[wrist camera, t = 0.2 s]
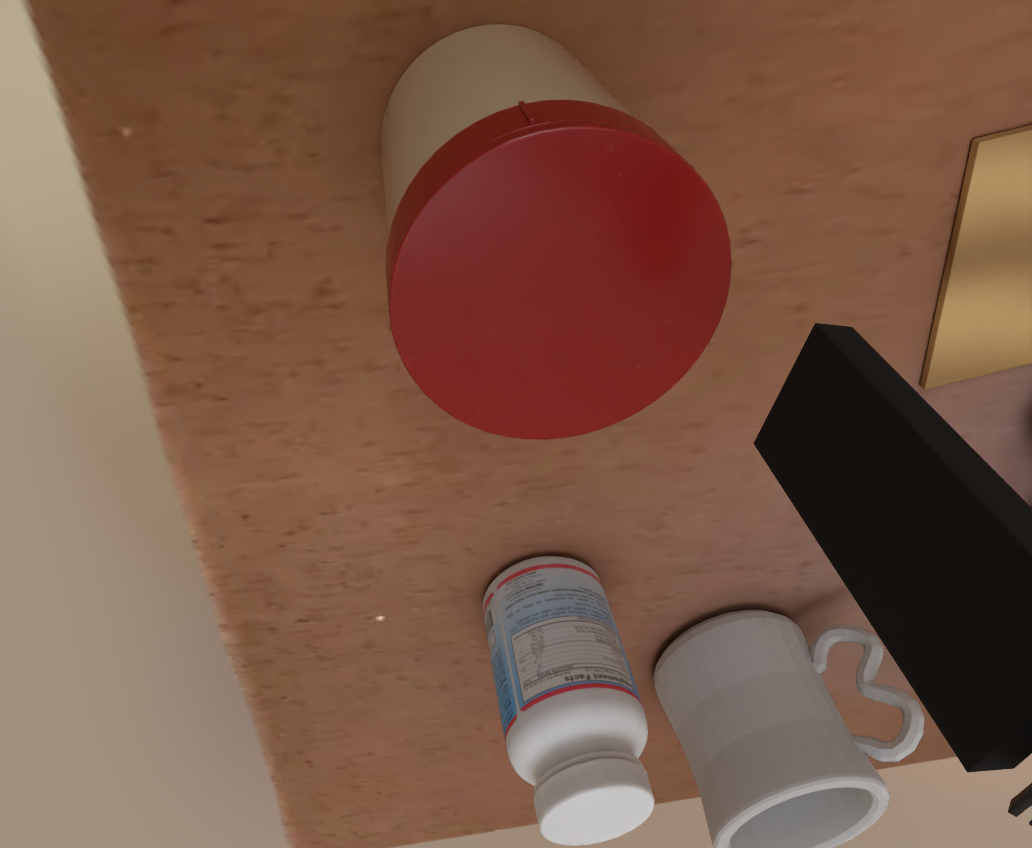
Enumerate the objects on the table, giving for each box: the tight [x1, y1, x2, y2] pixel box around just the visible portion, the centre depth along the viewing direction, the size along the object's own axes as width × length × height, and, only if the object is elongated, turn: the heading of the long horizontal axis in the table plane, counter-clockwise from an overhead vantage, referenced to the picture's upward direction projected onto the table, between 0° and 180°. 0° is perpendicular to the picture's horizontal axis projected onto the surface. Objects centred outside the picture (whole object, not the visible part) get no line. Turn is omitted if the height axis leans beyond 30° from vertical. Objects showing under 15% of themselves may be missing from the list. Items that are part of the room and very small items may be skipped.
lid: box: [386, 100, 732, 439], centre depth 17 cm, size 8×7×2 cm
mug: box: [653, 610, 924, 848], centre depth 40 cm, size 12×9×10 cm
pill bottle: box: [483, 556, 654, 846], centre depth 33 cm, size 6×6×11 cm
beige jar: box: [380, 24, 635, 239], centre depth 20 cm, size 7×7×10 cm
